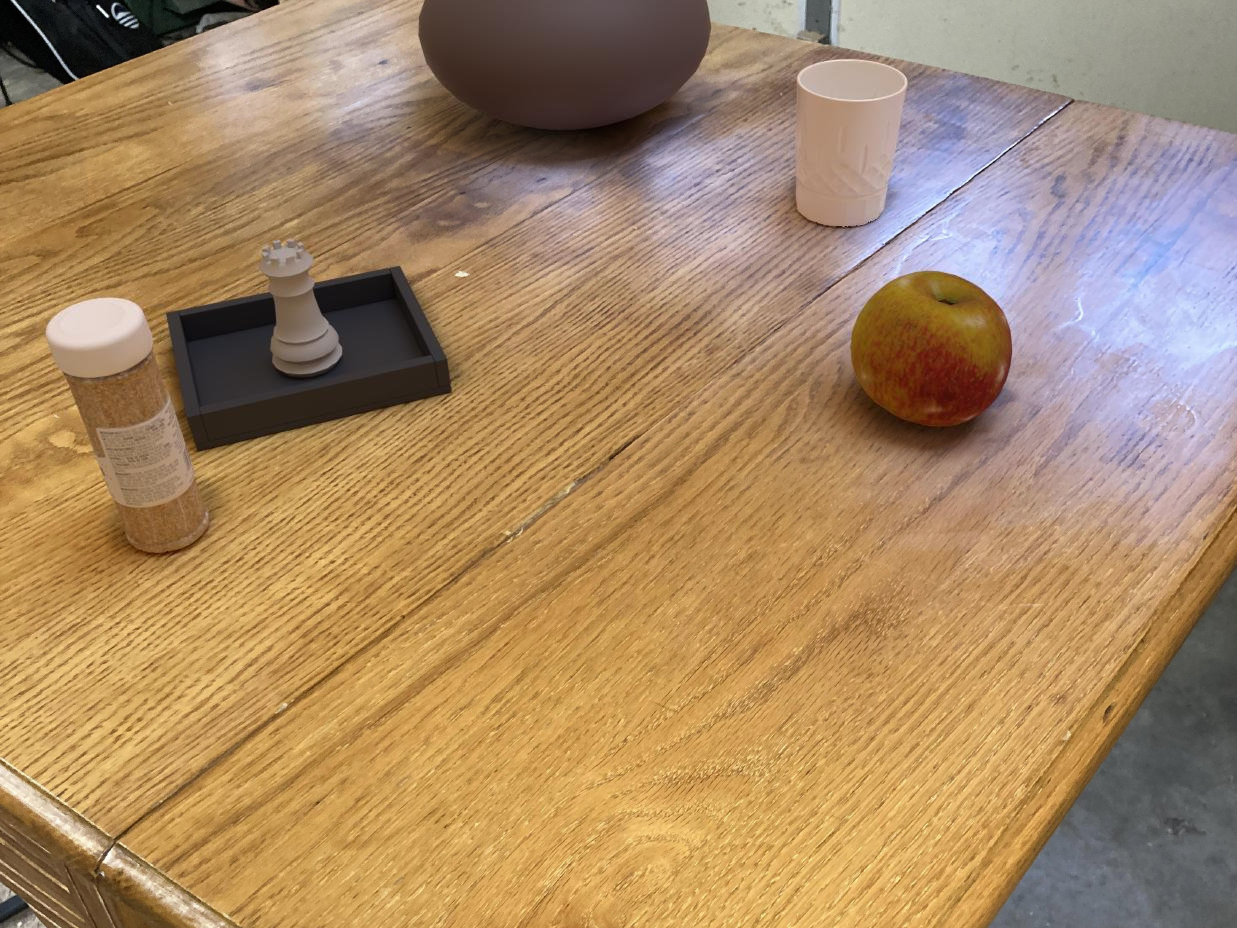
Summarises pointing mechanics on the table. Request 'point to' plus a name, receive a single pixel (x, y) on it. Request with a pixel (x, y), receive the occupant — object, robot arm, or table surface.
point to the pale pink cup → (846, 139)
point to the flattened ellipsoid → (564, 56)
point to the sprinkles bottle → (129, 421)
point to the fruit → (932, 348)
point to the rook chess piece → (297, 314)
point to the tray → (273, 401)
